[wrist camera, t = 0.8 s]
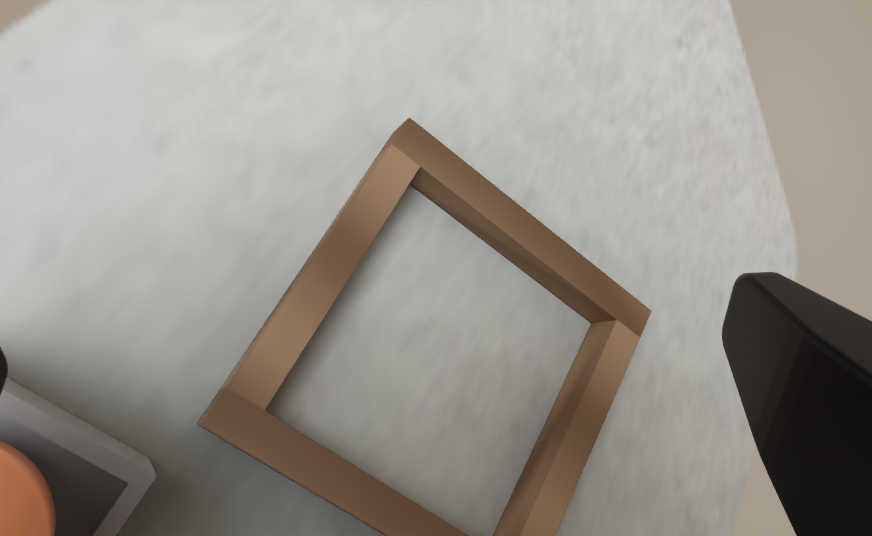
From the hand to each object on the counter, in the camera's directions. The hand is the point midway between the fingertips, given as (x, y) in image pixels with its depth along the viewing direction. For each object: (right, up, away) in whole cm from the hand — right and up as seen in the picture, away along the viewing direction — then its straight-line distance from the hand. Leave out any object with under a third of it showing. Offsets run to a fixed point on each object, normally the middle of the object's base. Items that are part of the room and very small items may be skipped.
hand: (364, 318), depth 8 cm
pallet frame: (+1, -3, +15) cm, 16 cm away
